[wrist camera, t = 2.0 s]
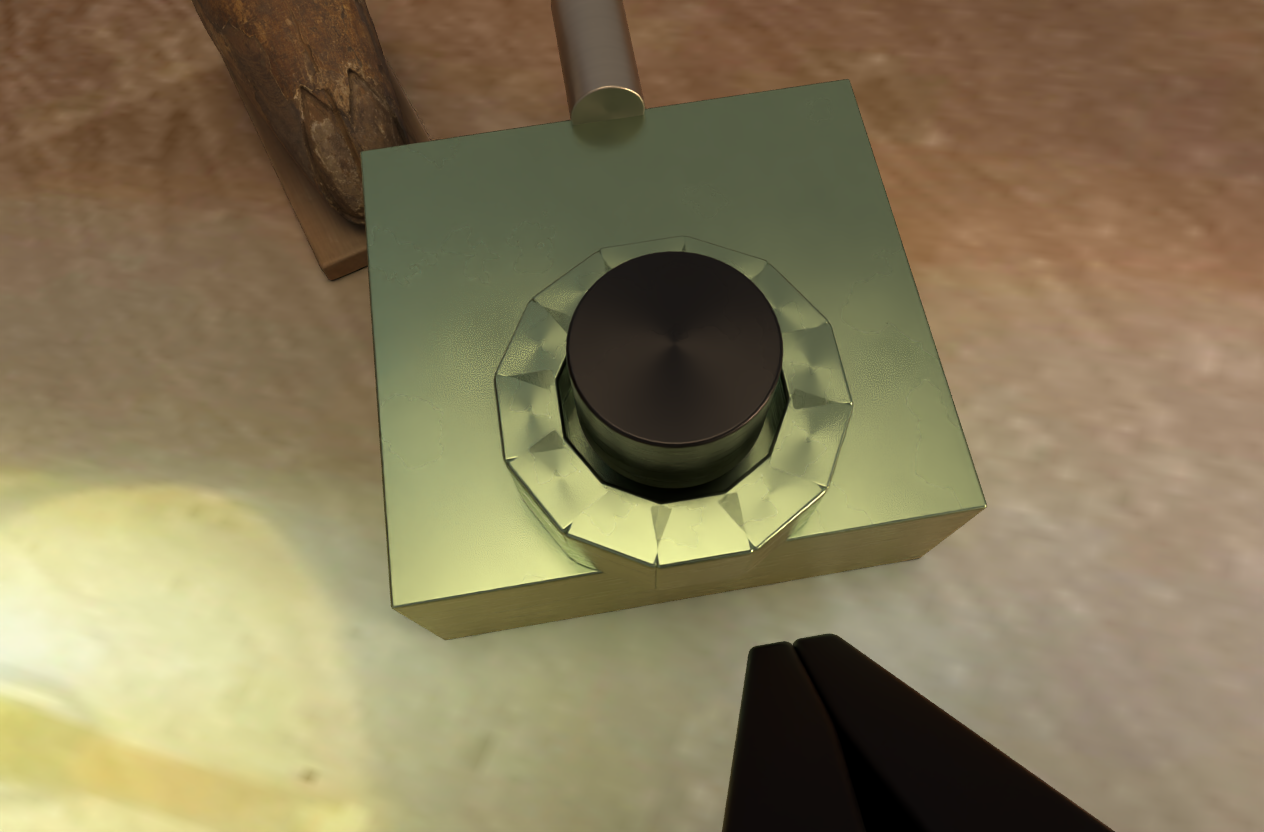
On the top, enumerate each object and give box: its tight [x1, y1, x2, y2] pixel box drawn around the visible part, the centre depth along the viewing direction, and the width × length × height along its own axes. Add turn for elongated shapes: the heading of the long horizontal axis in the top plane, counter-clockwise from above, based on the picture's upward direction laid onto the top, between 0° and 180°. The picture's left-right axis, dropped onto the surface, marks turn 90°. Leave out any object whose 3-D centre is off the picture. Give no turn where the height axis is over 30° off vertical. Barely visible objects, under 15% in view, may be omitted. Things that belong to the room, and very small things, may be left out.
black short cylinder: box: [566, 251, 783, 488], centre depth 16 cm, size 4×4×2 cm
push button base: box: [360, 79, 987, 640], centre depth 21 cm, size 12×12×7 cm
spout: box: [551, 0, 645, 125], centre depth 22 cm, size 4×2×2 cm, turn 10°
